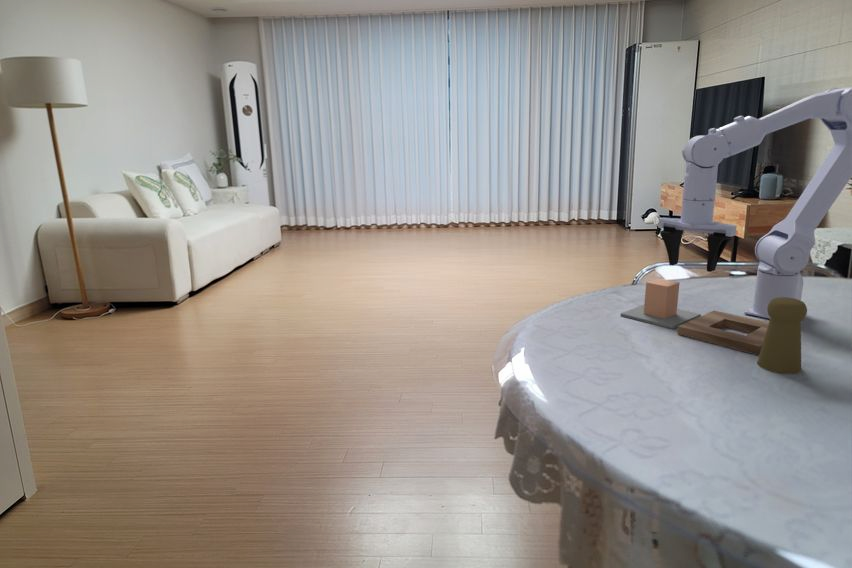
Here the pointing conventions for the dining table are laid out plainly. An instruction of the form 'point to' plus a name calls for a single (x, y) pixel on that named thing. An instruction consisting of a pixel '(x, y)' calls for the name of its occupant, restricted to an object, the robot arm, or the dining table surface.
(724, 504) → the dining table surface
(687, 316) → the mat
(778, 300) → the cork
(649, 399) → the dining table surface
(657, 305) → the block
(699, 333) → the holder
